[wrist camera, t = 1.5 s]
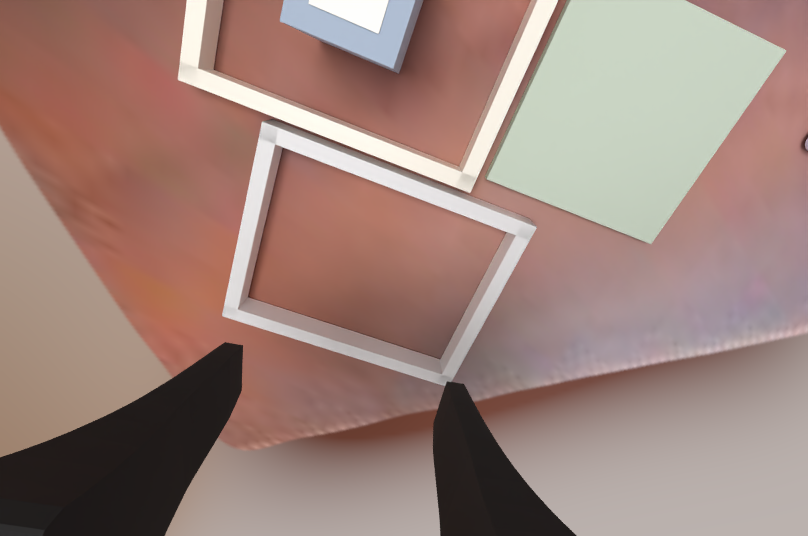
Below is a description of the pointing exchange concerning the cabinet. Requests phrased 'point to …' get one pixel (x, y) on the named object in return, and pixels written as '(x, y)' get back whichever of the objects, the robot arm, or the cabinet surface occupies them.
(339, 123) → the cream rectangular frame
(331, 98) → the cabinet surface
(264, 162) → the grey rectangular frame
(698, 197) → the cabinet surface
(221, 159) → the cabinet surface
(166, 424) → the robot arm
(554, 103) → the green mat
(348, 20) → the slate block
